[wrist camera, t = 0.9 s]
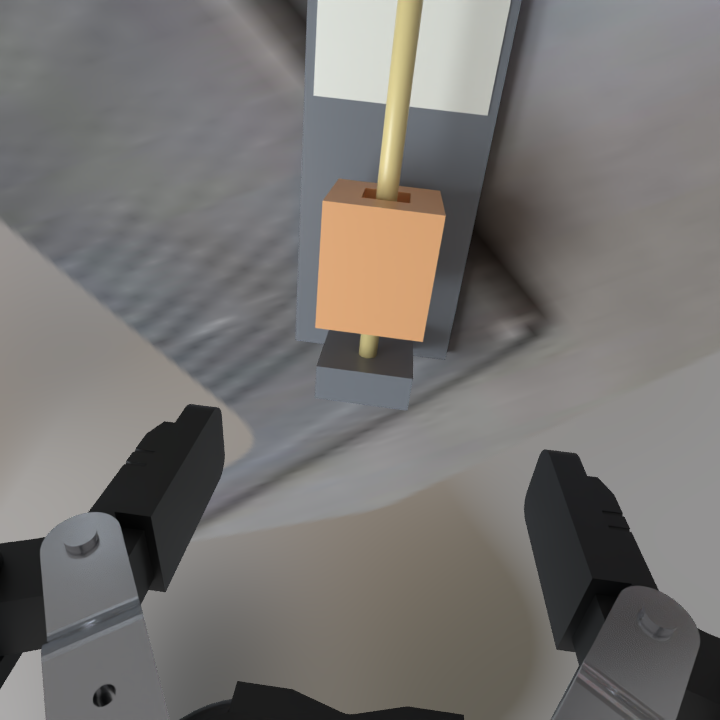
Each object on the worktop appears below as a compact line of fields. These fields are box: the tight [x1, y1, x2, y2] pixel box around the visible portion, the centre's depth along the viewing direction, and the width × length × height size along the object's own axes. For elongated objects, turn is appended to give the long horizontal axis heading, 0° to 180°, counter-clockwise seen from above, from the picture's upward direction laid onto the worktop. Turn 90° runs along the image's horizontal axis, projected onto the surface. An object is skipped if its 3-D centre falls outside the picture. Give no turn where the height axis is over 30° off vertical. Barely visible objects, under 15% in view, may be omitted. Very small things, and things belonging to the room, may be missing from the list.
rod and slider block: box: [295, 0, 522, 410], centre depth 24 cm, size 26×10×8 cm, turn 175°
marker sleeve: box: [315, 179, 446, 342], centre depth 25 cm, size 6×5×5 cm
